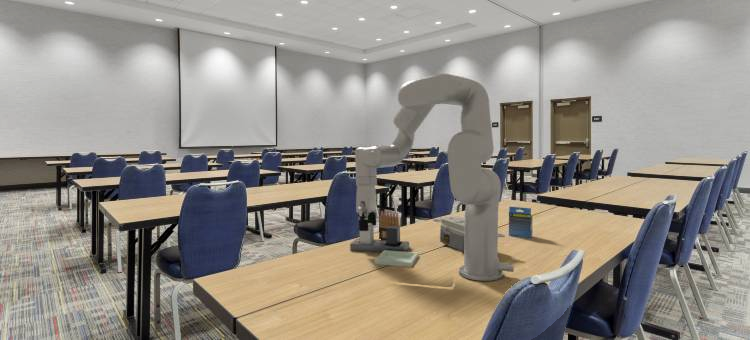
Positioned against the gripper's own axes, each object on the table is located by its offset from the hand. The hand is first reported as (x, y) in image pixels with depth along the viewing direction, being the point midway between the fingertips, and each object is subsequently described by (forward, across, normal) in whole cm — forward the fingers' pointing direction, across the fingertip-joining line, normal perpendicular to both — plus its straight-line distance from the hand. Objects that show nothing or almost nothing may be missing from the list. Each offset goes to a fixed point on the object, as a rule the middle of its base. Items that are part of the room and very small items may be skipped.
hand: (368, 228), depth 148 cm
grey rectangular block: (+8, 0, -1) cm, 8 cm away
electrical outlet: (+9, -11, +34) cm, 37 cm away
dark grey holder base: (+8, -4, +4) cm, 10 cm away
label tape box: (+10, -36, +54) cm, 66 cm away
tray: (+9, +11, +13) cm, 19 cm away
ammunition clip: (+8, -14, +4) cm, 17 cm away
